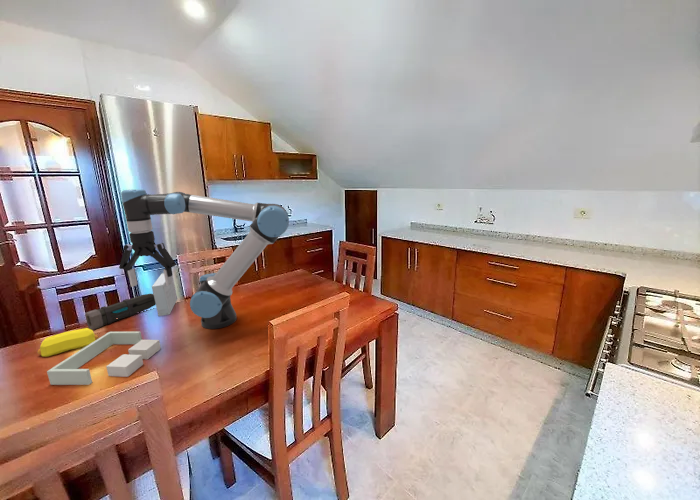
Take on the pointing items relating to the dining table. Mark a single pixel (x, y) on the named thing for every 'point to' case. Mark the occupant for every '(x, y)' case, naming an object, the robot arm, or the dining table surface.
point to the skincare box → (164, 295)
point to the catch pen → (87, 359)
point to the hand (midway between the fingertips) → (151, 285)
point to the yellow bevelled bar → (66, 341)
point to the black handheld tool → (118, 311)
